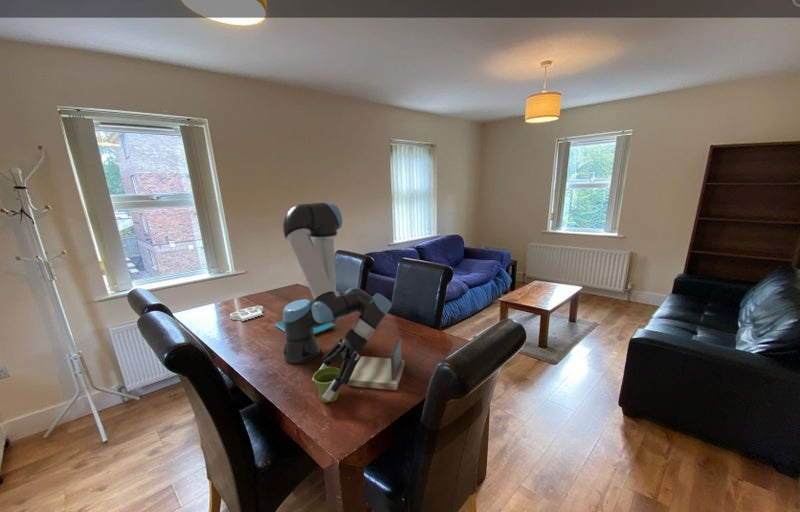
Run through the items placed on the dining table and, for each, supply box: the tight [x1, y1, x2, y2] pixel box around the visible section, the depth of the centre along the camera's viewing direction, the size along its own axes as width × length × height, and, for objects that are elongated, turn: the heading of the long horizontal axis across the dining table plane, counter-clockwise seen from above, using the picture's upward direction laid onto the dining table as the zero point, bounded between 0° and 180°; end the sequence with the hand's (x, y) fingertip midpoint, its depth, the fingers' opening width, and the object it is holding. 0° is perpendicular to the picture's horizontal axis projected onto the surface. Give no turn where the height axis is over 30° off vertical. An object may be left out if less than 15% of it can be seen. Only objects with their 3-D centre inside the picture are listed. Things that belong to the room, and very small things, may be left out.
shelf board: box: [347, 355, 406, 391], centre depth 118 cm, size 18×16×2 cm
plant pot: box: [312, 366, 340, 403], centre depth 105 cm, size 9×9×9 cm
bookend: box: [390, 338, 402, 380], centre depth 115 cm, size 1×12×10 cm, turn 169°
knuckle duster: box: [229, 305, 264, 322], centre depth 180 cm, size 3×18×15 cm
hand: (320, 389), depth 104 cm, fingers open, 10 cm apart
